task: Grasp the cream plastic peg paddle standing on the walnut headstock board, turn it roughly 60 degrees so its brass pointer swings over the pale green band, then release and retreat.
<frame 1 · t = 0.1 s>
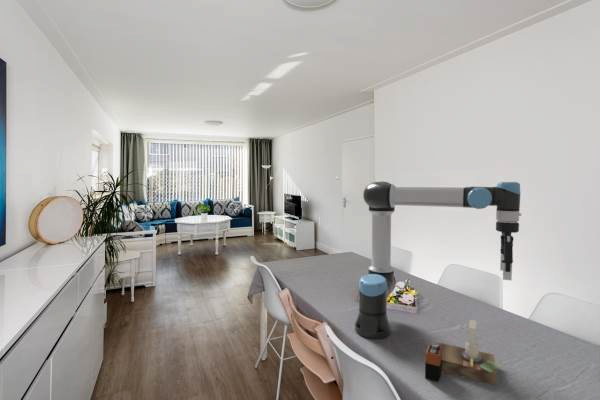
hand: (505, 275, 125), 28 cm above the table, fingers open, 13 cm apart
peg knob: (472, 343, 108), point 10 cm above the table, hinge at 0.0°
battery: (433, 376, 107), on the table
headstock board: (461, 366, 112), on the table
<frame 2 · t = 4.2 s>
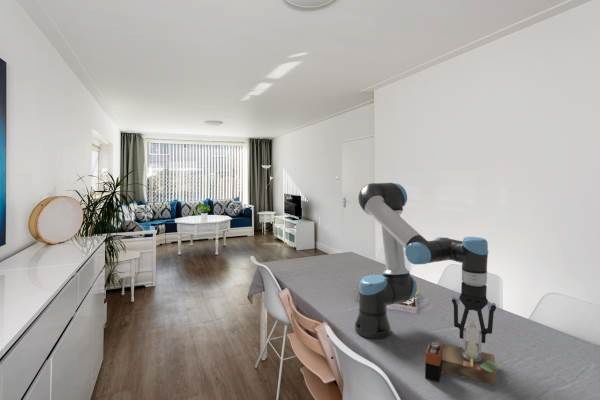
hand: (471, 349, 110), 7 cm above the table, fingers closed on peg knob, 4 cm apart
peg knob: (472, 343, 108), point 10 cm above the table, hinge at 0.0°, touching gripper
everything else where it was.
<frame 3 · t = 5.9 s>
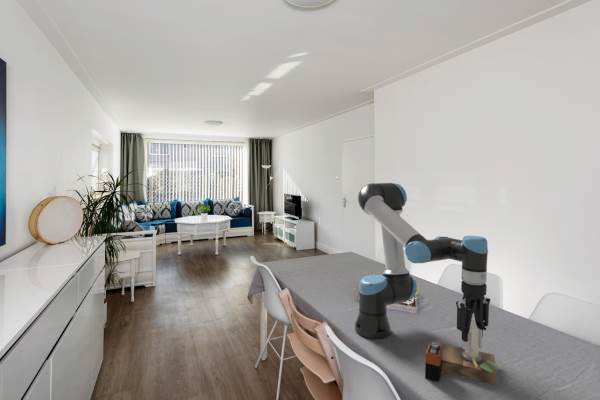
hand: (472, 348, 110), 8 cm above the table, fingers closed on peg knob, 5 cm apart
peg knob: (473, 343, 108), point 10 cm above the table, hinge at 11.6°, touching gripper
everything else where it was.
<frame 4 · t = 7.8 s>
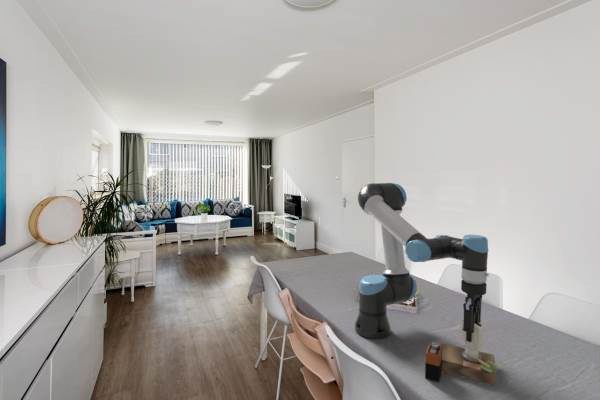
hand: (471, 346, 110), 8 cm above the table, fingers closed on peg knob, 4 cm apart
peg knob: (476, 343, 108), point 10 cm above the table, hinge at 45.8°, touching gripper
everything else where it was.
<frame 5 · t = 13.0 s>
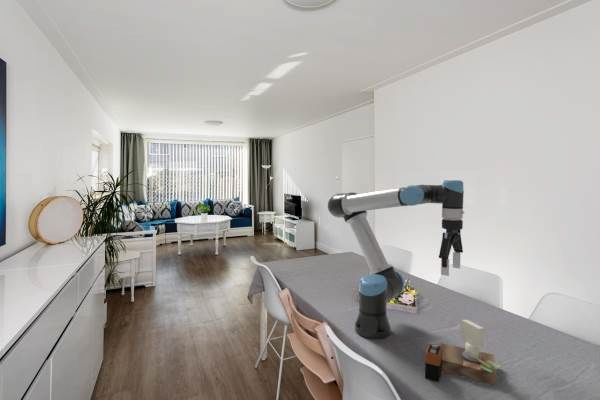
hand: (450, 271, 128), 29 cm above the table, fingers open, 13 cm apart
peg knob: (476, 343, 108), point 10 cm above the table, hinge at 47.7°
everything else where it was.
at the end: peg knob at +48° (first picture: +0°); the gripper is holding nothing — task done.
